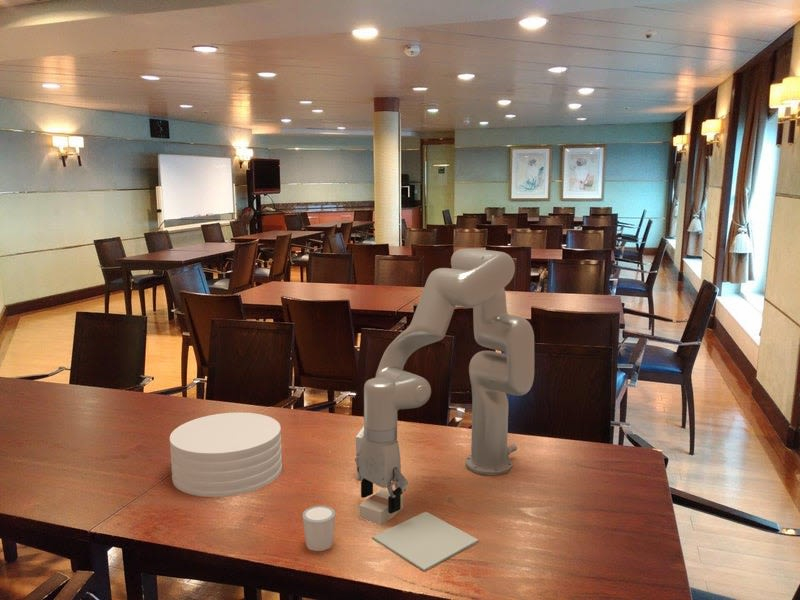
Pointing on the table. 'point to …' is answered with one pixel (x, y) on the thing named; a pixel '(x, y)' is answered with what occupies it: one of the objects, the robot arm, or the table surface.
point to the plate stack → (226, 454)
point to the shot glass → (319, 527)
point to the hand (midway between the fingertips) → (380, 503)
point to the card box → (377, 508)
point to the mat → (425, 540)
